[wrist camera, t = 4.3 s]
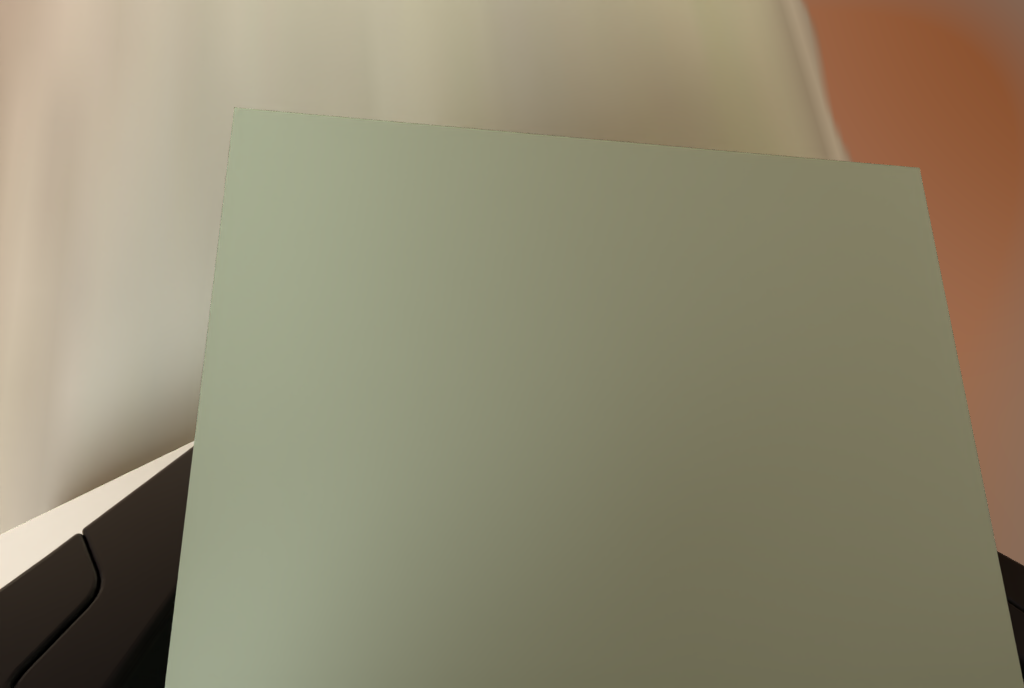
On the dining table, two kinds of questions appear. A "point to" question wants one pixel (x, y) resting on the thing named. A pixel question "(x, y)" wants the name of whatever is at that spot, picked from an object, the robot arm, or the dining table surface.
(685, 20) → the dining table surface
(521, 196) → the sage block
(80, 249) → the dining table surface
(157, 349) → the dining table surface
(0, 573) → the plate
